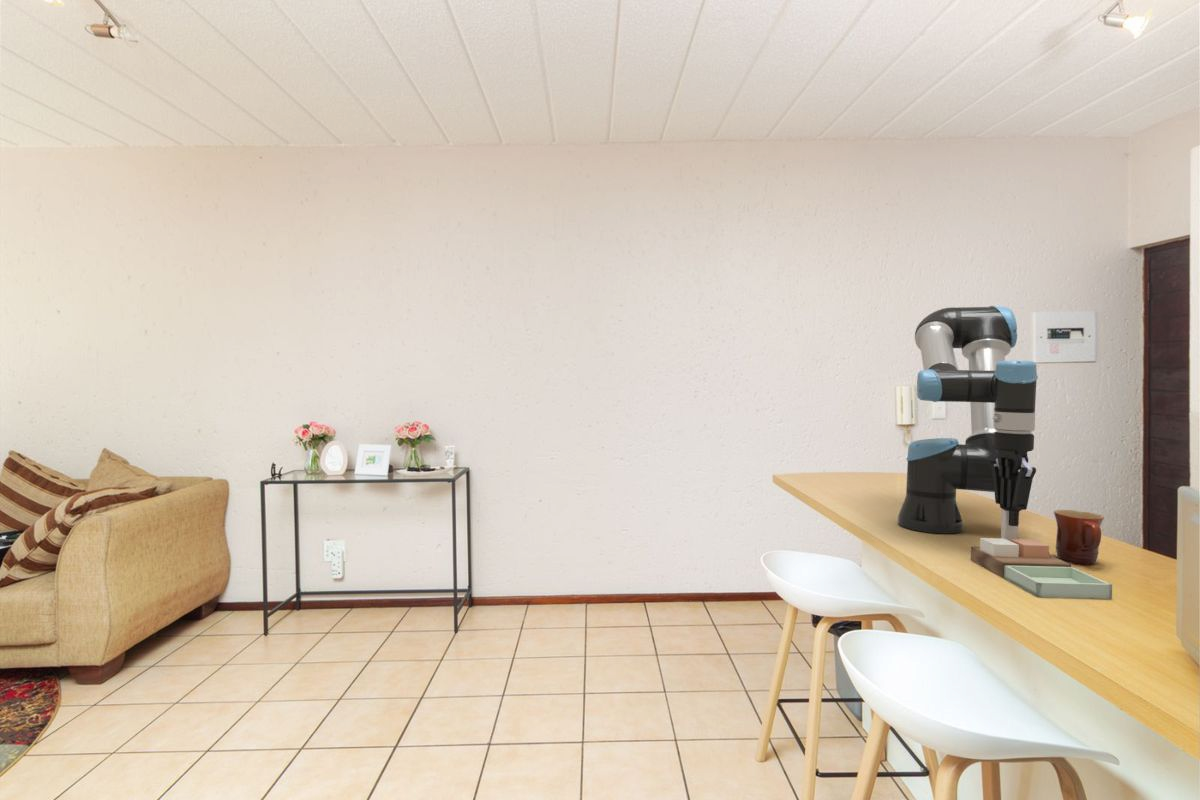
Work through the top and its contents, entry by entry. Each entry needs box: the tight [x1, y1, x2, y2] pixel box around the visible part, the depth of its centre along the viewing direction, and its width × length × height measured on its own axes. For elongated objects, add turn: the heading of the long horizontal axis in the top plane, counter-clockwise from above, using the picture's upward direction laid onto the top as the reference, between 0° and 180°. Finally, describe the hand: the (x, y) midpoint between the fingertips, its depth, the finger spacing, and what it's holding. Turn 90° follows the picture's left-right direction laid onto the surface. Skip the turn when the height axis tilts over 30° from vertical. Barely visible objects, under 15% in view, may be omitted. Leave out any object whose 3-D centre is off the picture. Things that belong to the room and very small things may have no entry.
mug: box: [1053, 509, 1105, 566], centre depth 137 cm, size 12×9×10 cm
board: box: [970, 546, 1072, 579], centre depth 132 cm, size 12×13×3 cm
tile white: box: [979, 537, 1019, 557], centre depth 133 cm, size 5×5×2 cm
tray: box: [1003, 565, 1113, 600], centre depth 121 cm, size 10×13×3 cm
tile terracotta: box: [1009, 538, 1050, 558], centre depth 133 cm, size 5×5×2 cm
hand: (1009, 539), depth 139 cm, fingers closed
